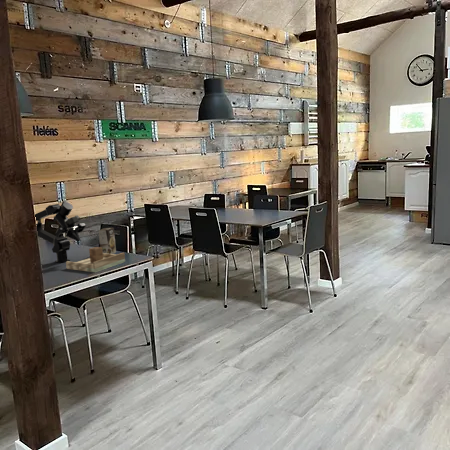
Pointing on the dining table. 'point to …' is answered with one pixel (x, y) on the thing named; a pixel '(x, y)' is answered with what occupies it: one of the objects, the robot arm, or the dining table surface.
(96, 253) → the walnut block
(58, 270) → the dining table surface
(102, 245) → the coffee box
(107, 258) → the trap lane
